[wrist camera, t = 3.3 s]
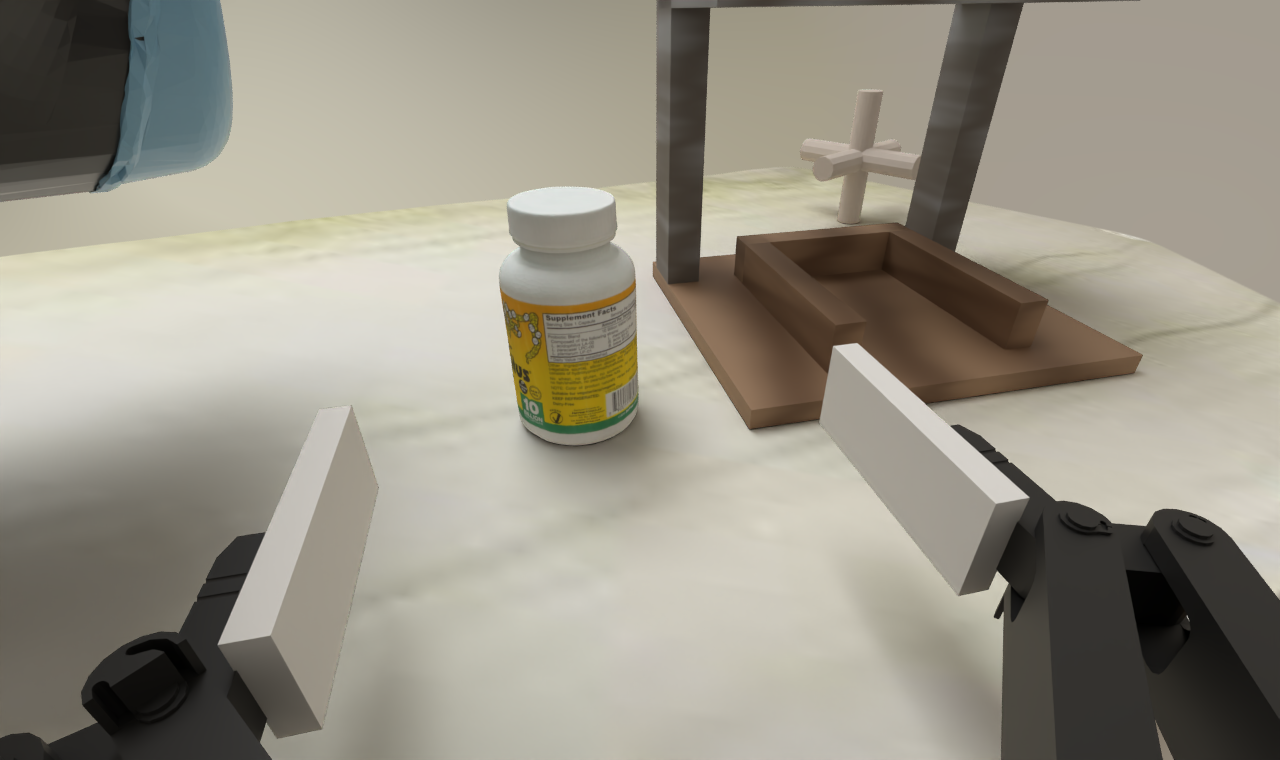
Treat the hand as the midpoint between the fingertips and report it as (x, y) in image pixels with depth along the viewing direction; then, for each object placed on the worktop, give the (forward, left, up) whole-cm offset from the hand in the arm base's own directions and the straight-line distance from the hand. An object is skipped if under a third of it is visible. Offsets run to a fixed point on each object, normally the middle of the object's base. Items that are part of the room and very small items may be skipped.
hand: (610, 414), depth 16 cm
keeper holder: (+17, +15, -6) cm, 23 cm away
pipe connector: (+26, +32, -6) cm, 41 cm away
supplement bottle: (0, +9, -6) cm, 11 cm away
